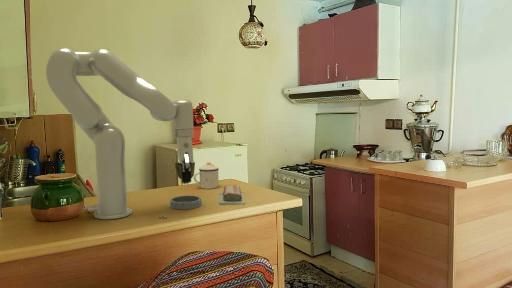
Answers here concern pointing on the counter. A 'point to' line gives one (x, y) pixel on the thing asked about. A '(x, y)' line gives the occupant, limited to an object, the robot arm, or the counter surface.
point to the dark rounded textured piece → (180, 170)
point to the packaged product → (231, 196)
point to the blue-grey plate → (185, 202)
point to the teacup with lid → (208, 176)
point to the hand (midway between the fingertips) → (185, 179)
